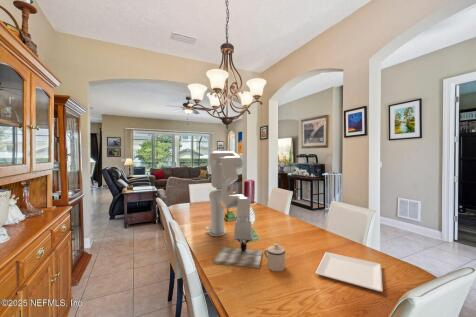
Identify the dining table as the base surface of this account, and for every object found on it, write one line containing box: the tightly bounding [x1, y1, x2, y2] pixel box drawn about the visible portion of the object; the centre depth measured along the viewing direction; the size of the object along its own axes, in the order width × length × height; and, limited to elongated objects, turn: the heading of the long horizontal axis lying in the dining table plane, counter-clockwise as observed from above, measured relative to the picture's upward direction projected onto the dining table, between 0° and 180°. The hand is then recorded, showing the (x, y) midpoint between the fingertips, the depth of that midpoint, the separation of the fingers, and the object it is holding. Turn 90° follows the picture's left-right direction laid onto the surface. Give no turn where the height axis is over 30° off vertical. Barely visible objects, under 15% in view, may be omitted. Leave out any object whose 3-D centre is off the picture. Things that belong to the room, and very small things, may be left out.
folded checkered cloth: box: [219, 246, 263, 259], centre depth 124 cm, size 24×6×2 cm, turn 78°
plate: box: [315, 251, 383, 293], centre depth 105 cm, size 26×26×2 cm
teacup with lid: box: [263, 243, 286, 272], centre depth 110 cm, size 12×9×12 cm
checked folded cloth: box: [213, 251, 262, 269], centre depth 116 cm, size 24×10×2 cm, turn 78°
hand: (243, 250), depth 125 cm, fingers closed
